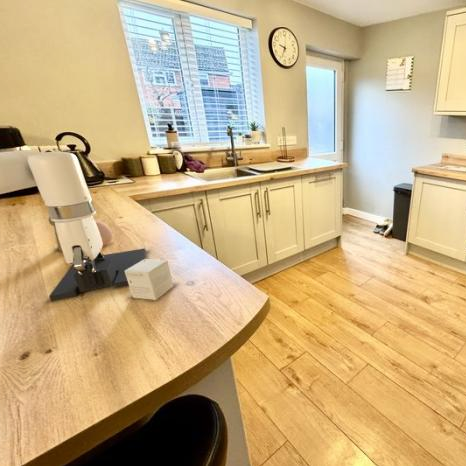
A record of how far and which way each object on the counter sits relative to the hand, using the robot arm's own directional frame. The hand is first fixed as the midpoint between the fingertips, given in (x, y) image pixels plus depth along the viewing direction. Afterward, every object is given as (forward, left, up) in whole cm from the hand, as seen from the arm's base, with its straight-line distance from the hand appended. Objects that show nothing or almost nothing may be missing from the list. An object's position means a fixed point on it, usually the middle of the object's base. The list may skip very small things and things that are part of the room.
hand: (98, 279), depth 70 cm
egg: (-5, +28, -2) cm, 29 cm away
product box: (+12, -10, -2) cm, 15 cm away
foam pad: (0, 0, -1) cm, 1 cm away
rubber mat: (0, +6, -2) cm, 7 cm away
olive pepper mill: (-13, +31, -2) cm, 34 cm away
